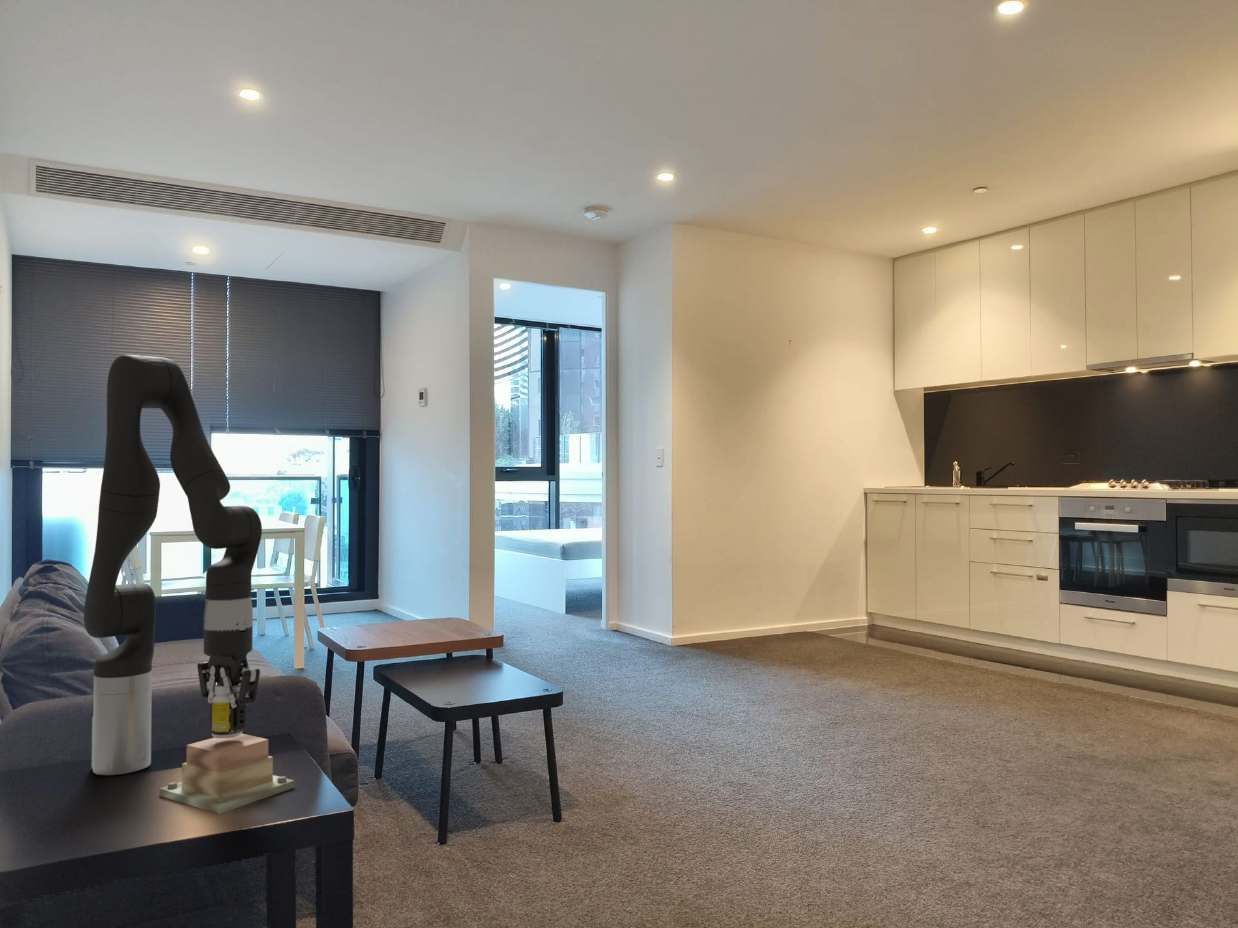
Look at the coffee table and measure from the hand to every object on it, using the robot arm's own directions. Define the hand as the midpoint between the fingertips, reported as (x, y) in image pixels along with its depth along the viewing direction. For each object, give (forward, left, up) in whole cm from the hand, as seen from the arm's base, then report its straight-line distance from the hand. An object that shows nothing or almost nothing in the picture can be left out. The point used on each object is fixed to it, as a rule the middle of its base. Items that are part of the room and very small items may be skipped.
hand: (227, 726), depth 147 cm
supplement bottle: (0, 0, -2) cm, 2 cm away
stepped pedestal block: (0, 0, -11) cm, 11 cm away
